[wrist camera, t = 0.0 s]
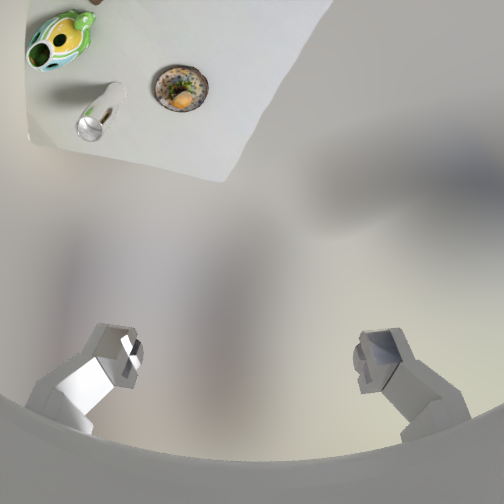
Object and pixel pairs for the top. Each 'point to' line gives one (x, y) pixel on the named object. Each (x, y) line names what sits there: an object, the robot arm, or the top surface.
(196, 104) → the burger
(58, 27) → the turtle holder
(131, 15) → the top surface
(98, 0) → the walnut board
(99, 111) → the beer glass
